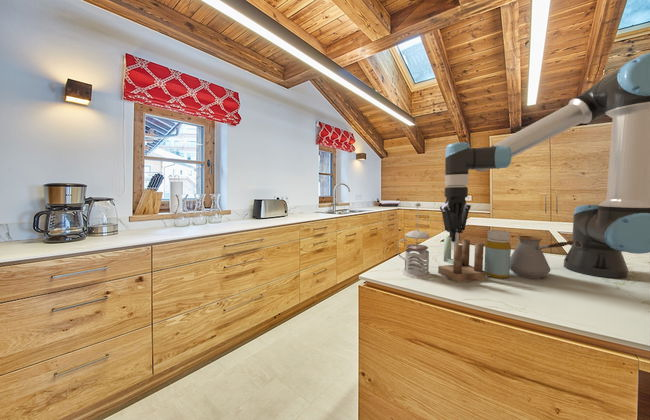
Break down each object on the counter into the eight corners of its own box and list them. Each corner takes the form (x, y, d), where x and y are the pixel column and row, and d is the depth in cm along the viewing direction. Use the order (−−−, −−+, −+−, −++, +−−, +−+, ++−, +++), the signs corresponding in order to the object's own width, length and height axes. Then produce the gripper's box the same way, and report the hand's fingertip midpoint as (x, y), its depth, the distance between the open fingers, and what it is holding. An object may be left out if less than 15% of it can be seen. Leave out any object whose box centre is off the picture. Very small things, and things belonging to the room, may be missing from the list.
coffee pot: (498, 269, 89) (500, 228, 88) (528, 268, 89) (531, 227, 88) (556, 294, 68) (559, 241, 66) (595, 293, 68) (600, 240, 67)
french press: (433, 280, 80) (435, 203, 77) (396, 276, 83) (396, 203, 81) (430, 270, 89) (431, 201, 87) (397, 267, 93) (397, 201, 90)
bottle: (500, 271, 86) (503, 229, 85) (514, 279, 79) (516, 233, 78) (480, 271, 87) (481, 229, 86) (491, 278, 80) (493, 233, 79)
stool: (465, 270, 88) (466, 239, 87) (486, 279, 79) (487, 244, 78) (438, 272, 86) (438, 240, 85) (456, 282, 77) (457, 246, 76)
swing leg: (463, 265, 85) (464, 240, 84) (457, 266, 85) (458, 240, 84) (447, 259, 92) (448, 236, 91) (442, 260, 91) (442, 236, 91)
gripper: (460, 186, 95) (458, 245, 97) (434, 187, 91) (433, 249, 93) (478, 186, 88) (475, 250, 90) (451, 187, 84) (449, 254, 86)
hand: (454, 249), depth 92 cm, fingers closed
